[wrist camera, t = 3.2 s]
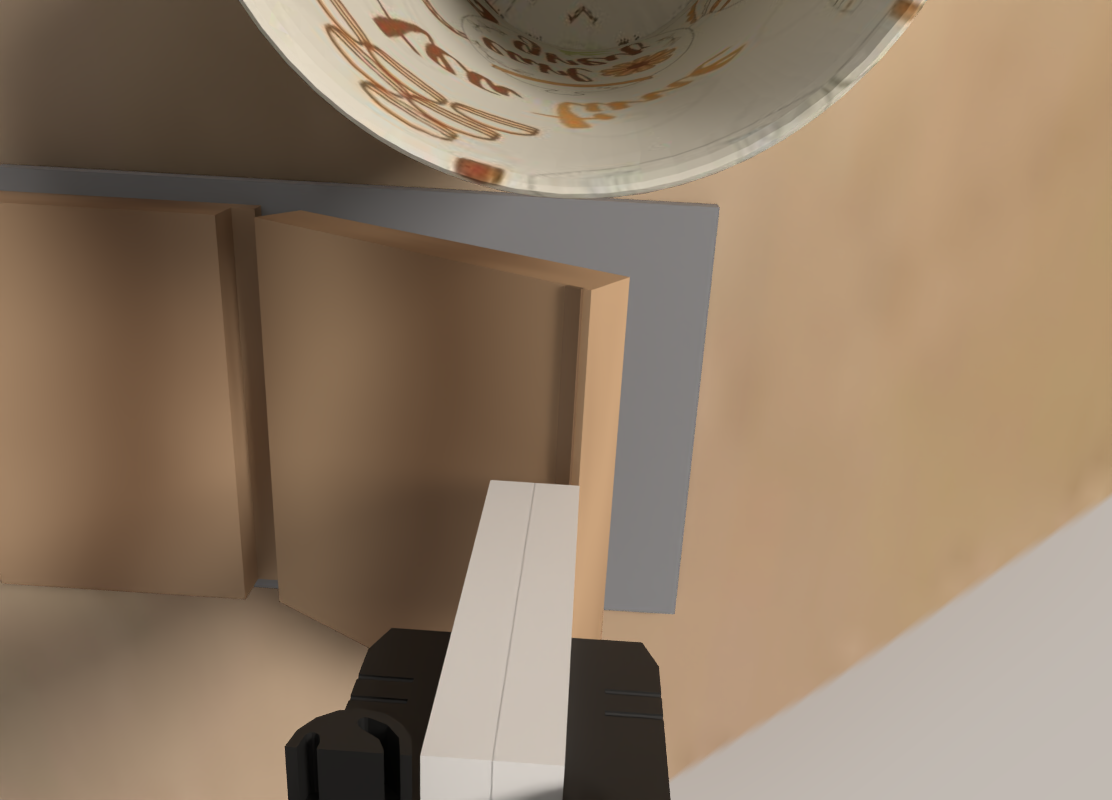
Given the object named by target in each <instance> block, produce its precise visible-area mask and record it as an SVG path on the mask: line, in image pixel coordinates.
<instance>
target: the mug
mask: <svg viewBox="0 0 1112 800" xmlns="http://www.w3.org/2000/svg"><path fill="white" fill-rule="evenodd" d="M239 1H240V3H241V4H242V6H243V7H244V9H245V10H246V11H247V13H248V14H249V16H250V17H251V19H252V20H253V22H254V23H255V24H256V26H257V27H258V29H259V30H260V31H261V33H262V34H263V35H264V36H265V37H266V39H267V40H268V41H269V42H270V43H271V45H272V46H273V47H274V48H275V49H276V51H277V52H278V53H279V54H280V56H281V57H282V58H283V59H284V60H285V62H286V63H287V64H288V65H289V66H290V67H291V68H292V69H293V70H294V71H295V72H296V73H297V74H298V75H299V76H300V77H301V78H302V79H303V80H304V81H305V82H306V83H307V84H308V85H309V86H310V87H311V88H312V89H313V90H314V91H315V92H316V93H317V94H319V95H320V96H321V97H322V98H323V99H324V100H326V101H327V102H328V103H329V104H330V105H331V106H333V107H334V108H335V109H336V110H337V111H339V112H340V113H341V114H342V115H344V116H345V117H346V118H347V119H349V120H350V121H352V122H353V123H354V124H356V125H357V126H359V127H360V128H361V129H363V130H364V131H366V132H367V133H369V134H370V135H372V136H373V137H375V138H376V139H378V140H380V141H381V142H383V143H385V144H386V145H388V146H390V147H391V148H393V149H395V150H396V151H398V152H400V153H402V154H404V155H406V156H408V157H410V158H412V159H414V160H416V161H418V162H420V163H422V164H424V165H426V166H428V167H430V168H433V169H435V170H438V171H441V172H443V173H446V174H449V175H451V176H454V177H456V178H459V179H462V180H464V181H468V182H471V183H475V184H479V185H482V186H486V187H490V188H493V189H497V190H501V191H507V192H513V193H519V194H524V195H530V196H536V197H550V198H565V199H591V198H613V197H620V196H628V195H636V194H644V193H649V192H653V191H657V190H662V189H666V188H670V187H675V186H679V185H683V184H686V183H689V182H692V181H695V180H698V179H701V178H704V177H707V176H710V175H713V174H716V173H718V172H720V171H723V170H725V169H727V168H729V167H732V166H734V165H736V164H738V163H741V162H743V161H745V160H747V159H750V158H752V157H754V156H755V155H757V154H759V153H761V152H763V151H764V150H766V149H768V148H770V147H772V146H773V145H775V144H777V143H779V142H780V141H782V140H784V139H786V138H787V137H789V136H790V135H792V134H793V133H795V132H796V131H798V130H799V129H801V128H802V127H803V126H805V125H806V124H808V123H809V122H810V121H812V120H813V119H815V118H816V117H818V116H819V115H820V114H821V113H823V112H824V111H825V110H826V109H828V108H829V107H830V106H831V105H833V104H834V103H835V102H836V101H838V100H839V99H840V98H841V97H843V96H844V95H845V94H846V93H847V92H848V91H849V90H850V89H851V88H852V87H853V86H854V85H855V84H856V83H857V82H858V81H859V80H860V79H861V78H862V77H863V76H864V75H865V74H866V73H867V72H868V71H869V70H870V69H871V68H872V67H873V66H874V65H876V64H877V63H878V62H879V61H880V60H881V58H882V57H883V56H884V55H885V54H886V52H887V51H888V50H889V49H890V48H891V47H892V45H893V44H894V43H895V42H896V41H897V40H898V38H899V37H900V36H901V35H902V34H903V33H904V31H905V30H906V29H907V28H908V27H909V25H910V24H911V22H912V21H913V20H914V18H915V17H916V15H917V14H918V12H919V11H920V10H921V8H922V7H923V5H924V4H925V2H926V1H927V0H239Z"/></svg>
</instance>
